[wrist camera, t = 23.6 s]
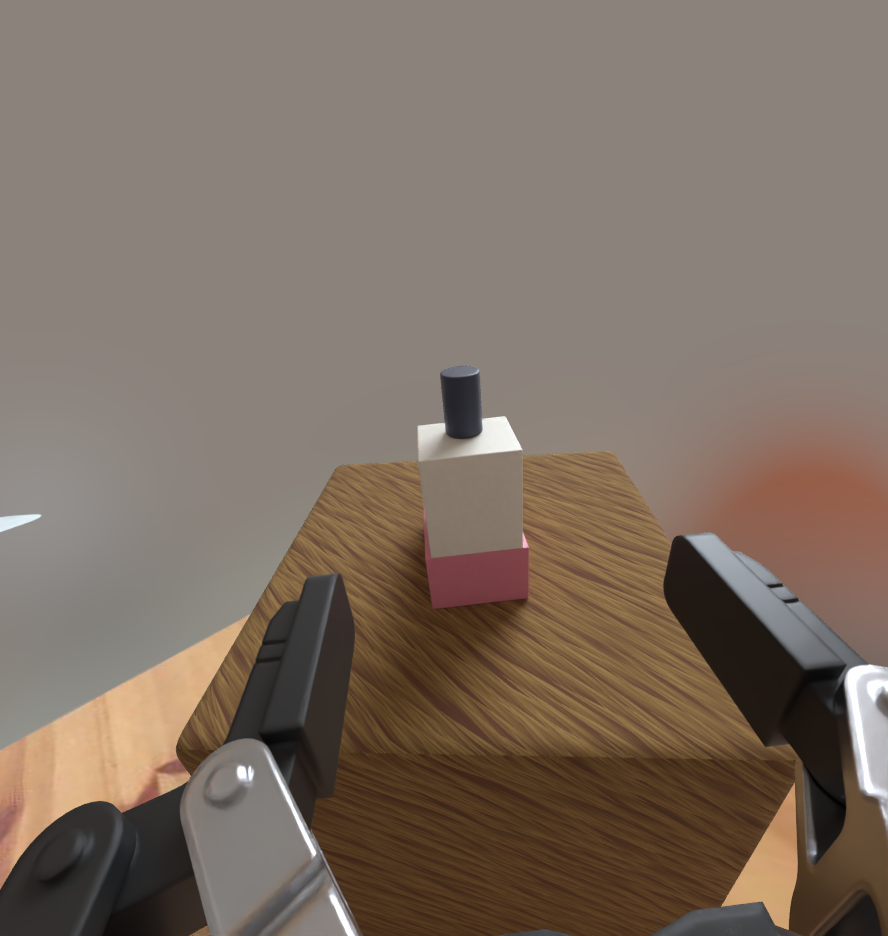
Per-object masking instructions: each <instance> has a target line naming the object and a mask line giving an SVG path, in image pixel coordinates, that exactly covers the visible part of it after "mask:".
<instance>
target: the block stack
mask: <svg viewBox="0 0 888 936" xmlns="http://www.w3.org/2000/svg"><path fill="white" fill-rule="evenodd" d="M440 379H441V389H442V399H443V409H444V420H445V423H440V424H431V425H422V426H418V427H417V434H418V435H417V436H418V466H419V473H420V480H421V487H422V495H423V509H424V536H425V561H426V567H427V574H428V581H429V588H430V595H431V601H432V608H433V609H438V608H447V607H456V606H464V605H473V604H482V603H490V602H499V601H508V600H517V599H525V598H528V597H529V547H528V544H527V541H526V539H525V536H524V533H523V450H522V448H521V446H520V444H519V442H518V440H517V439H516V437H515V435H514V433H513V431H512V429H511V427H510V425H509V423H508V421H507V419H506V417H505V416H503V417H494V418H485V419H482V409H481V389H480V371H479V369H477V368H475V367H471V366H458V367H452V368H448V369H445V370H443V371H442V372H441V373H440Z"/></svg>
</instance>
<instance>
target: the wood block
mask: <svg viewBox="0 0 888 936" xmlns="http://www.w3.org/2000/svg"><path fill="white" fill-rule="evenodd" d="M523 533H524V536H525V539H526V541H527V544H528V547H529V597H528V598H525V599H517V600H508V601H499V602H490V603H482V604H473V605H464V606H456V607H447V608H438V609H433V608H432V601H431V595H430V588H429V581H428V574H427V567H426V561H425V536H424V509H423V495H422V487H421V480H420V473H419V466H418V461H411V462H392V463H373V464H355V465H354V464H352V465H341V466H339V467H337V468H336V469H335V471H334V473H333V474H332V476H331V478H330V479H329V481H328V483H327V485H326V486H325V488H324V490H323V491H322V493H321V495H320V497H319V498H318V500H317V502H316V503H315V505H314V507H313V508H312V510H311V512H310V514H309V515H308V517H307V519H306V520H305V522H304V524H303V526H302V527H301V529H300V531H299V532H298V534H297V536H296V538H295V539H294V541H293V543H292V544H291V546H290V548H289V550H288V551H287V553H286V555H285V556H284V558H283V560H282V562H281V563H280V565H279V567H278V568H277V570H276V572H275V574H274V575H273V577H272V579H271V580H270V582H269V584H268V586H267V587H266V589H265V591H264V592H263V594H262V596H261V598H260V599H259V601H258V603H257V604H256V606H255V608H254V609H253V611H252V613H251V615H250V616H249V618H248V620H247V621H246V623H245V625H244V627H243V628H242V630H241V632H240V633H239V635H238V637H237V639H236V640H235V642H234V644H233V645H232V647H231V649H230V651H229V652H228V654H227V656H226V657H225V659H224V661H223V663H222V664H221V666H220V668H219V669H218V671H217V673H216V675H215V676H214V678H213V680H212V681H211V683H210V685H209V687H208V688H207V690H206V692H205V693H204V695H203V697H202V699H201V700H200V702H199V704H198V705H197V707H196V709H195V711H194V712H193V714H192V716H191V717H190V719H189V721H188V723H187V724H186V726H185V728H184V729H183V731H182V733H181V735H180V737H179V740H178V743H177V746H176V753H177V756H178V758H179V760H180V761H181V763H182V764H183V765H184V767H185V768H186V770H187V771H188V772H189V774H190V775H191V776H192V774H193V773H194V772H195V770H196V769H197V768H198V766H199V765H200V764H201V763H202V762H203V761H204V760H205V759H206V758H207V757H208V756H209V755H210V754H212V753H213V752H214V751H215V750H217V749H219V748H220V747H222V745H223V743H224V742H225V739H226V737H227V735H228V732H229V730H230V727H231V724H232V722H233V719H234V716H235V713H236V711H237V708H238V705H239V703H240V700H241V697H242V694H243V692H244V689H245V686H246V684H247V681H248V678H249V675H250V673H251V670H252V667H253V665H254V664H255V663H256V660H255V659H256V656H257V654H258V651H259V648H260V646H262V640H263V637H264V635H265V632H266V629H267V627H268V624H269V621H270V620H271V619H272V617H273V616H274V615H275V614H276V612H277V611H278V610H279V609H280V608H281V606H282V605H283V604H284V603H285V602H289V601H297V600H299V598H300V595H301V592H302V589H303V585H304V582H305V580H306V578H307V577H309V576H317V575H326V574H335V573H340V574H341V576H342V578H343V582H344V585H345V589H346V593H347V596H348V600H349V604H350V607H351V611H352V615H353V619H354V626H355V644H354V651H353V659H352V666H351V673H350V680H349V687H348V694H347V701H346V709H345V716H344V723H343V730H342V737H341V744H340V751H339V759H338V766H337V773H336V780H335V787H334V794H333V797H332V798H324V799H316V801H315V807H314V813H313V819H312V825H311V830H312V832H313V834H314V836H315V838H316V840H317V842H318V844H319V846H320V848H321V850H322V852H323V854H324V857H325V859H326V861H327V863H328V865H329V867H330V869H331V871H332V873H333V875H334V877H335V879H336V881H337V883H338V885H339V887H340V889H341V891H342V893H343V895H344V898H345V900H346V902H347V904H348V906H349V908H350V910H351V912H352V914H353V916H354V918H355V920H356V922H357V924H358V926H359V928H360V930H361V932H362V934H363V936H496V935H504V934H512V933H520V932H528V931H536V930H543V929H547V930H552V931H556V932H560V933H564V934H568V935H572V936H651V935H652V934H654V933H656V932H657V931H659V930H661V929H662V928H664V927H666V926H667V925H669V924H671V923H672V922H674V921H676V920H677V919H679V918H681V917H682V916H684V915H686V914H687V913H689V912H691V911H693V910H701V909H708V908H716V907H721V906H722V904H723V902H724V900H725V899H726V897H727V895H728V894H729V892H730V890H731V889H732V887H733V885H734V884H735V882H736V880H737V879H738V877H739V875H740V874H741V872H742V870H743V868H744V867H745V865H746V863H747V862H748V860H749V858H750V857H751V855H752V853H753V852H754V850H755V848H756V847H757V845H758V843H759V842H760V840H761V838H762V836H763V835H764V833H765V831H766V830H767V828H768V826H769V825H770V823H771V821H772V820H773V818H774V816H775V815H776V813H777V811H778V809H779V808H780V806H781V804H782V803H783V801H784V799H785V798H786V796H787V794H788V793H789V791H790V789H791V788H792V786H793V784H794V783H795V762H796V759H797V757H798V755H797V754H796V752H795V751H794V750H793V748H792V747H791V746H790V744H788V745H779V746H771V747H765V746H764V745H763V743H762V742H761V740H760V739H759V738H758V736H757V735H756V733H755V732H754V730H753V729H752V727H751V726H750V724H749V723H748V722H747V720H746V719H745V717H744V716H743V714H742V713H741V711H740V710H739V709H738V707H737V706H736V704H735V703H734V701H733V700H732V698H731V697H730V695H729V694H728V693H727V691H726V690H725V688H724V687H723V685H722V684H721V682H720V681H719V680H718V678H717V677H716V675H715V674H714V672H713V671H712V669H711V668H710V666H709V665H708V664H707V662H706V661H705V659H704V658H703V656H702V655H701V653H700V652H699V651H698V649H697V648H696V646H695V645H694V643H693V642H692V640H691V639H690V638H689V636H688V635H687V633H686V632H685V630H684V629H683V627H682V626H681V624H680V623H679V622H678V620H677V619H676V617H675V616H674V614H673V613H672V611H671V610H670V608H669V606H668V604H667V602H666V599H665V596H664V591H663V582H664V577H665V573H666V568H667V564H668V559H669V555H670V550H671V545H672V544H671V543H670V541H669V539H668V538H667V536H666V535H665V533H664V531H663V530H662V528H661V527H660V525H659V523H658V522H657V520H656V519H655V517H654V515H653V514H652V512H651V511H650V509H649V507H648V506H647V505H646V503H645V501H644V499H643V498H642V496H641V495H640V493H639V492H638V490H637V488H636V487H635V485H634V484H633V482H632V480H631V479H630V477H629V476H628V474H627V472H626V471H625V469H624V468H623V466H622V464H621V463H620V461H619V460H618V458H617V456H616V455H615V454H614V453H612V452H606V451H605V452H585V453H566V454H547V455H529V456H523Z"/></svg>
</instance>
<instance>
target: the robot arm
mask: <svg viewBox="0 0 888 936" xmlns="http://www.w3.org/2000/svg"><path fill="white" fill-rule="evenodd" d="M663 591H664V596H665V599H666V602H667V604H668V606H669V608H670V610H671V611H672V613H673V614H674V616H675V617H676V619H677V620H678V622H679V623H680V624H681V626H682V627H683V629H684V630H685V632H686V633H687V635H688V636H689V638H690V639H691V640H692V642H693V643H694V645H695V646H696V648H697V649H698V651H699V652H700V653H701V655H702V656H703V658H704V659H705V661H706V662H707V664H708V665H709V666H710V668H711V669H712V671H713V672H714V674H715V675H716V677H717V678H718V680H719V681H720V682H721V684H722V685H723V687H724V688H725V690H726V691H727V693H728V694H729V695H730V697H731V698H732V700H733V701H734V703H735V704H736V706H737V707H738V709H739V710H740V711H741V713H742V714H743V716H744V717H745V719H746V720H747V722H748V723H749V724H750V726H751V727H752V729H753V730H754V732H755V733H756V735H757V736H758V738H759V739H760V740H761V742H762V743H763V745H764V746H765V747H771V746H779V745H788V744H790V746H791V747H792V748H793V750H794V751H795V752H796V754H797V755H798V757H797V759H796V762H795V796H796V824H797V852H798V873H797V881H796V886H795V889H794V892H793V896H792V901H791V907H790V917H789V930H786V929H784V928H781V927H778V926H775V925H774V923H773V921H772V919H771V917H770V915H769V913H768V911H767V909H766V908H765V906H764V904H763V902H756V903H748V904H740V905H732V906H724V907H716V908H708V909H701V910H693V911H691V912H689V913H687V914H686V915H684V916H682V917H681V918H679V919H677V920H676V921H674V922H672V923H671V924H669V925H667V926H666V927H664V928H662V929H661V930H659V931H657V932H656V933H654V934H652V935H651V936H888V668H885V667H881V666H875V665H869V664H868V663H867V662H866V661H865V660H864V659H862V658H861V657H860V656H859V655H858V654H857V653H856V652H855V651H854V650H853V649H852V648H851V647H850V646H848V645H847V643H845V642H844V641H843V640H842V639H841V638H840V637H839V636H838V635H837V634H836V633H835V632H834V631H833V630H832V629H831V628H829V627H828V626H827V625H826V624H825V623H824V622H823V621H822V620H821V619H820V618H819V617H818V616H817V615H816V614H815V613H814V612H813V611H811V610H810V609H809V608H808V607H807V606H806V605H805V604H804V603H803V602H799V600H798V597H796V596H795V595H794V594H793V593H792V592H791V591H790V590H789V589H788V588H787V587H783V585H782V582H781V581H780V580H778V579H777V578H776V577H775V576H774V575H773V574H772V573H771V572H770V571H769V570H768V569H767V568H766V567H765V566H764V565H762V564H760V563H758V562H757V561H755V560H753V559H751V558H750V557H748V556H746V555H744V554H742V553H741V552H739V551H737V552H733V551H732V550H731V549H729V547H728V546H727V545H726V544H725V543H724V542H723V541H722V540H720V538H719V537H717V536H716V535H715V534H713V533H710V532H706V533H698V534H689V535H680V536H676V537H675V538H674V540H673V542H672V545H671V550H670V555H669V559H668V564H667V568H666V573H665V577H664V582H663ZM354 644H355V626H354V619H353V615H352V611H351V607H350V604H349V600H348V596H347V593H346V589H345V585H344V582H343V578H342V576H341V574H340V573H335V574H326V575H317V576H309V577H307V578H306V580H305V582H304V585H303V589H302V592H301V595H300V598H299V600H297V601H289V602H285V603H284V604H283V605H282V606H281V608H280V609H279V610H278V611H277V612H276V614H275V615H274V616H273V617H272V619H271V620H270V621H269V624H268V627H267V629H266V632H265V635H264V637H263V640H262V646H260V648H259V651H258V654H257V656H256V659H255V660H256V663H255V664H254V665H253V667H252V670H251V673H250V675H249V678H248V681H247V684H246V686H245V689H244V692H243V694H242V697H241V700H240V703H239V705H238V708H237V711H236V713H235V716H234V719H233V722H232V724H231V727H230V730H229V732H228V735H227V737H226V739H225V742H224V743H223V745H222V747H220V748H219V749H217V750H215V751H214V752H213V753H212V754H210V755H209V756H208V757H207V758H206V759H205V760H204V761H203V762H202V763H201V764H200V765H199V766H198V768H197V769H196V770H195V772H194V773H193V774H192V776H191V777H190V779H189V781H188V782H186V783H185V784H183V785H182V786H180V787H178V788H176V789H174V790H172V791H170V792H167V793H165V794H163V795H161V796H159V797H156V798H154V799H152V800H150V801H148V802H145V803H143V804H141V805H139V806H137V807H134V808H132V809H130V810H128V811H126V812H123V813H121V812H120V811H119V810H118V809H117V808H116V807H115V806H114V805H113V804H111V803H108V802H103V801H97V802H91V803H87V804H84V805H81V806H79V807H77V808H75V809H73V810H71V811H69V812H67V813H66V814H64V815H63V816H61V817H60V818H58V819H57V820H56V821H54V822H53V823H52V824H51V825H49V826H48V827H47V828H46V829H45V830H44V831H43V832H42V833H41V834H40V835H38V836H37V838H36V839H35V840H34V841H33V842H32V843H31V844H30V845H29V846H28V848H27V849H26V850H25V852H24V853H23V854H22V855H21V857H20V858H19V860H18V861H17V863H16V864H15V866H14V867H13V869H12V871H11V873H10V874H9V876H8V878H7V879H6V881H5V883H4V884H3V886H2V888H1V890H0V936H189V935H190V934H192V933H194V932H196V931H198V930H199V929H201V928H203V927H205V926H207V925H208V928H209V932H210V936H363V934H362V932H361V930H360V928H359V926H358V924H357V922H356V920H355V918H354V916H353V914H352V912H351V910H350V908H349V906H348V904H347V902H346V900H345V898H344V895H343V893H342V891H341V889H340V887H339V885H338V883H337V881H336V879H335V877H334V875H333V873H332V871H331V869H330V867H329V865H328V863H327V861H326V859H325V857H324V854H323V852H322V850H321V848H320V846H319V844H318V842H317V840H316V838H315V836H314V834H313V832H312V830H311V825H312V819H313V813H314V807H315V801H316V799H324V798H332V797H333V794H334V787H335V780H336V773H337V766H338V759H339V751H340V744H341V737H342V730H343V723H344V716H345V709H346V701H347V694H348V687H349V680H350V673H351V666H352V659H353V651H354ZM496 936H572V935H568V934H564V933H560V932H556V931H552V930H547V929H543V930H536V931H528V932H520V933H512V934H504V935H496Z"/></svg>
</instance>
